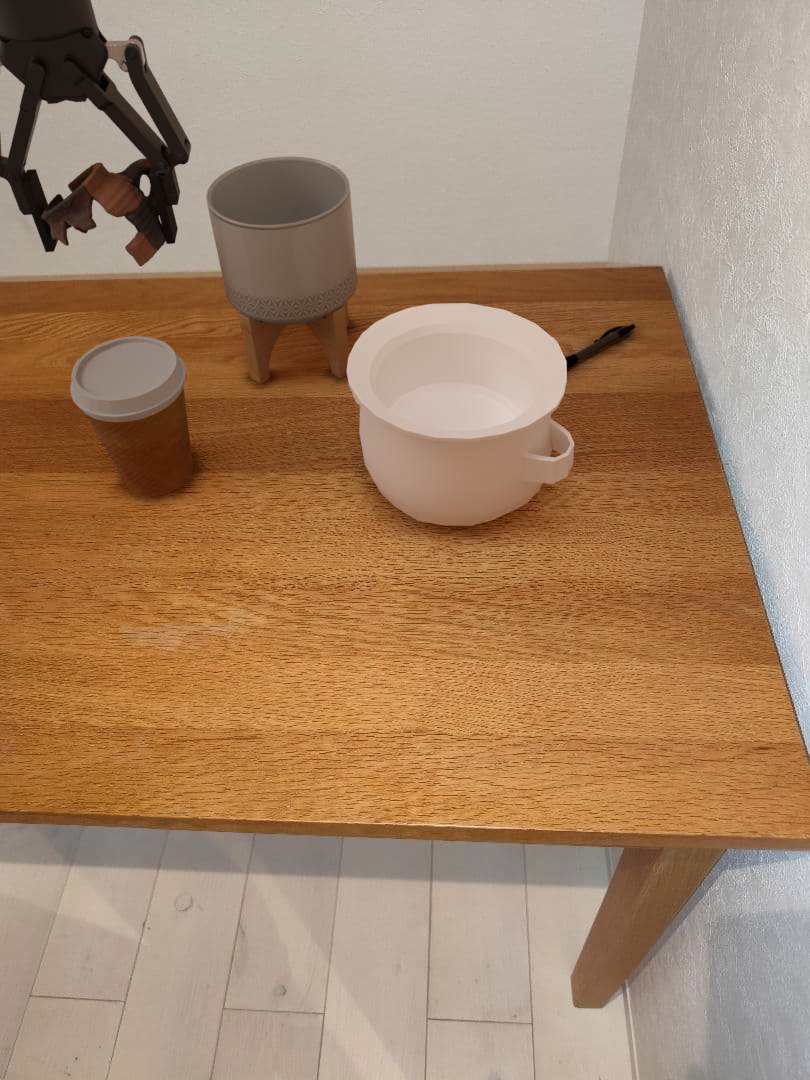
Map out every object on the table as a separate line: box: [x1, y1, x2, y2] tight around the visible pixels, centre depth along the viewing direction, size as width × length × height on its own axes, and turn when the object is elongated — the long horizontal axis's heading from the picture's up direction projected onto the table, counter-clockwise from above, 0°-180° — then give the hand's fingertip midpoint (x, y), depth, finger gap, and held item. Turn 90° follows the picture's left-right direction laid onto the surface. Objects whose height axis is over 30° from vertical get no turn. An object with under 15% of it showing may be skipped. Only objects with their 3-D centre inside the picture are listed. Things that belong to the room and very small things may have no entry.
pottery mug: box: [41, 157, 166, 267], centre depth 82 cm, size 12×10×8 cm
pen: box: [565, 323, 636, 370], centre depth 91 cm, size 14×2×1 cm, turn 128°
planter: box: [205, 156, 358, 384], centre depth 87 cm, size 13×13×18 cm
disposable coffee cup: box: [69, 335, 194, 497], centre depth 78 cm, size 10×10×12 cm
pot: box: [346, 302, 575, 527], centre depth 76 cm, size 22×17×12 cm
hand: (112, 240), depth 83 cm, fingers closed on pottery mug, 10 cm apart
